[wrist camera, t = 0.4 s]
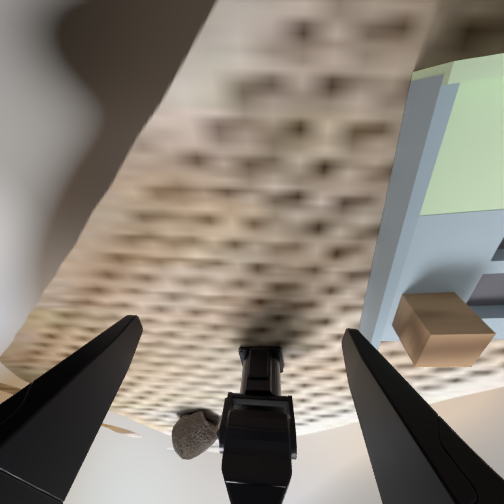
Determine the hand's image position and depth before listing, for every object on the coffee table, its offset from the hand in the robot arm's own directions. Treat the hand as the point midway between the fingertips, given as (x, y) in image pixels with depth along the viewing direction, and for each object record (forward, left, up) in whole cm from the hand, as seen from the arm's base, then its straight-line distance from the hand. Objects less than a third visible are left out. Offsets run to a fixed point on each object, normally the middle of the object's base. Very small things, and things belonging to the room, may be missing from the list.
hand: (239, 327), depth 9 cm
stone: (-49, +19, -14) cm, 55 cm away
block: (-13, -17, -12) cm, 24 cm away
